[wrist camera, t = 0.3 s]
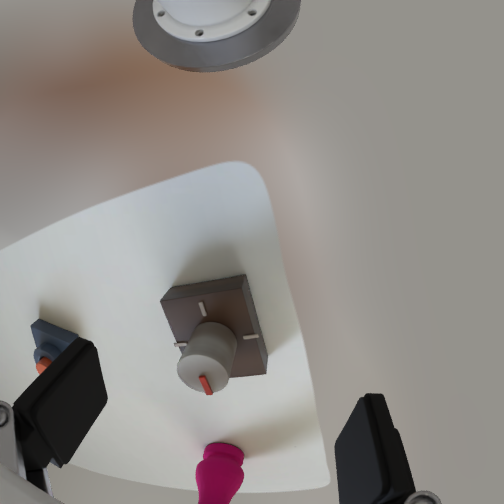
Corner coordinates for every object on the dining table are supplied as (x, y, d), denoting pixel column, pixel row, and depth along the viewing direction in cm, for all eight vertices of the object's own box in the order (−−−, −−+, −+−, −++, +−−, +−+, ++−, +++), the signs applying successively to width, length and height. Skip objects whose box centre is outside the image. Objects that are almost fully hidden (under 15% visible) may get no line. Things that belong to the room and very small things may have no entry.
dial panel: (167, 287, 29) (156, 302, 26) (248, 273, 28) (244, 287, 25) (197, 363, 32) (190, 381, 29) (270, 356, 31) (269, 374, 28)
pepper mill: (255, 459, 38) (240, 565, 19) (218, 465, 40) (196, 561, 21) (231, 437, 36) (206, 556, 18) (193, 444, 38) (160, 549, 19)
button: (39, 353, 31) (32, 359, 30) (57, 361, 31) (50, 368, 29) (45, 371, 32) (39, 377, 31) (63, 379, 32) (57, 387, 31)
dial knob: (186, 324, 27) (167, 358, 22) (230, 318, 26) (218, 354, 21) (200, 360, 28) (186, 396, 23) (242, 356, 27) (234, 394, 22)
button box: (38, 318, 34) (22, 331, 30) (78, 334, 33) (62, 350, 29) (52, 368, 37) (40, 382, 33) (90, 385, 37) (78, 401, 33)
